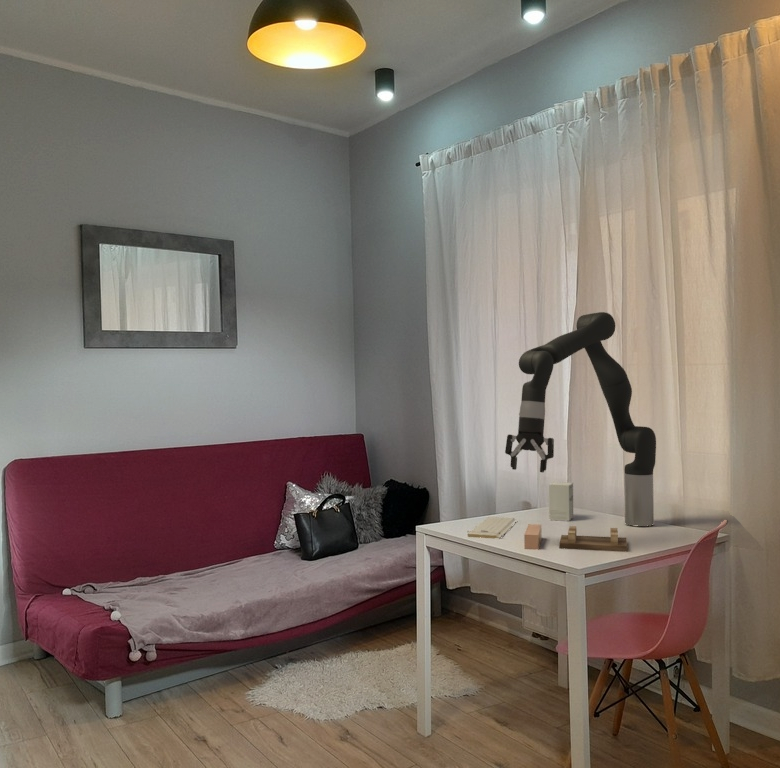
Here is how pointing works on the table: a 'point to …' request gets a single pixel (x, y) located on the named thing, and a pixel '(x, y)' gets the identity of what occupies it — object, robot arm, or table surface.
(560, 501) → the supplement box
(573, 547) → the cleated wooden board
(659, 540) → the table surface
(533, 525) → the clay bar
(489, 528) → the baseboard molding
